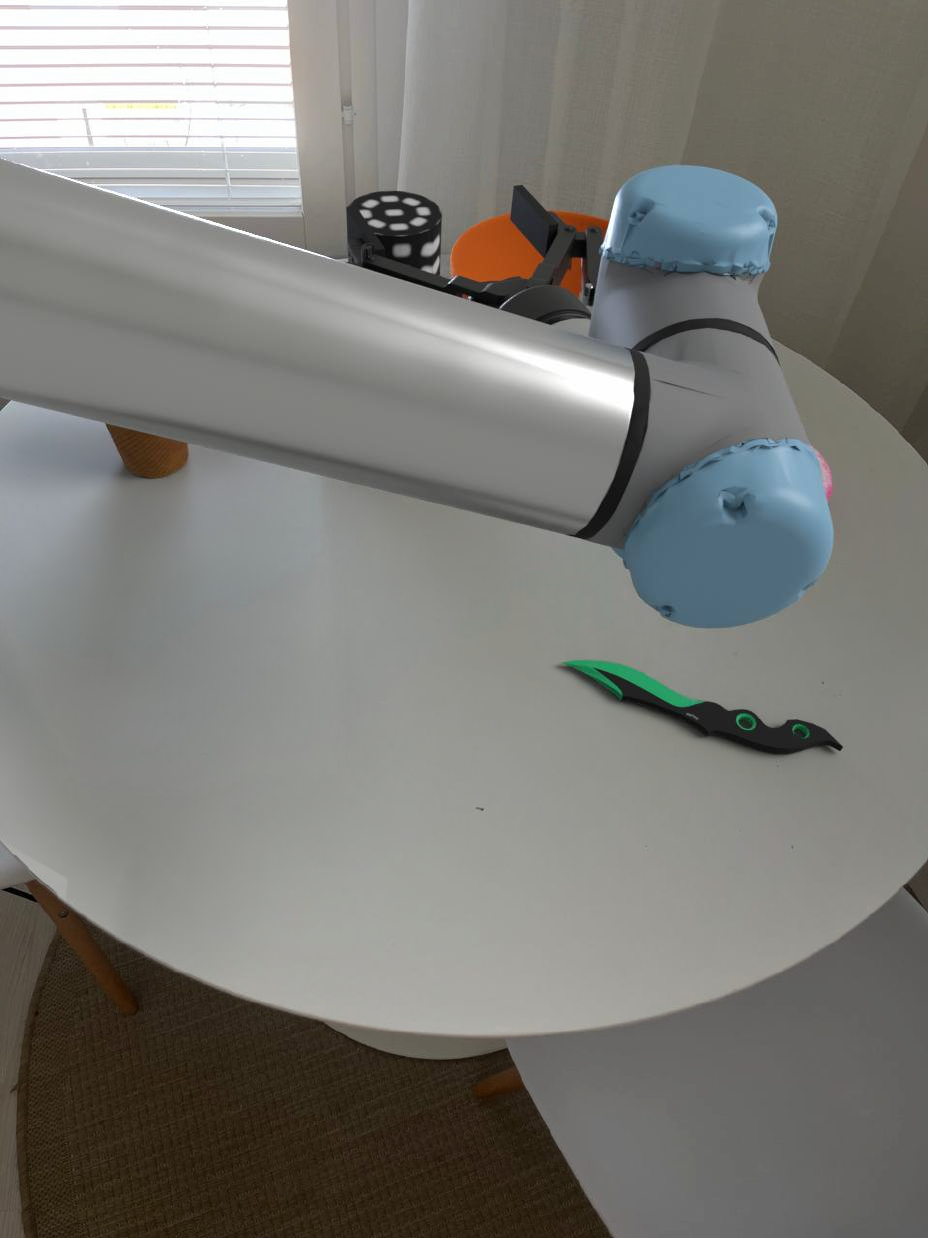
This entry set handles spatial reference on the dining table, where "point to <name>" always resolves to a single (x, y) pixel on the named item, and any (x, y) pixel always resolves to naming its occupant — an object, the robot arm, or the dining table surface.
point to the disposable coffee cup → (148, 452)
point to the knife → (704, 711)
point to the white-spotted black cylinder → (405, 227)
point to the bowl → (512, 251)
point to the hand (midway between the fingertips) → (435, 212)
